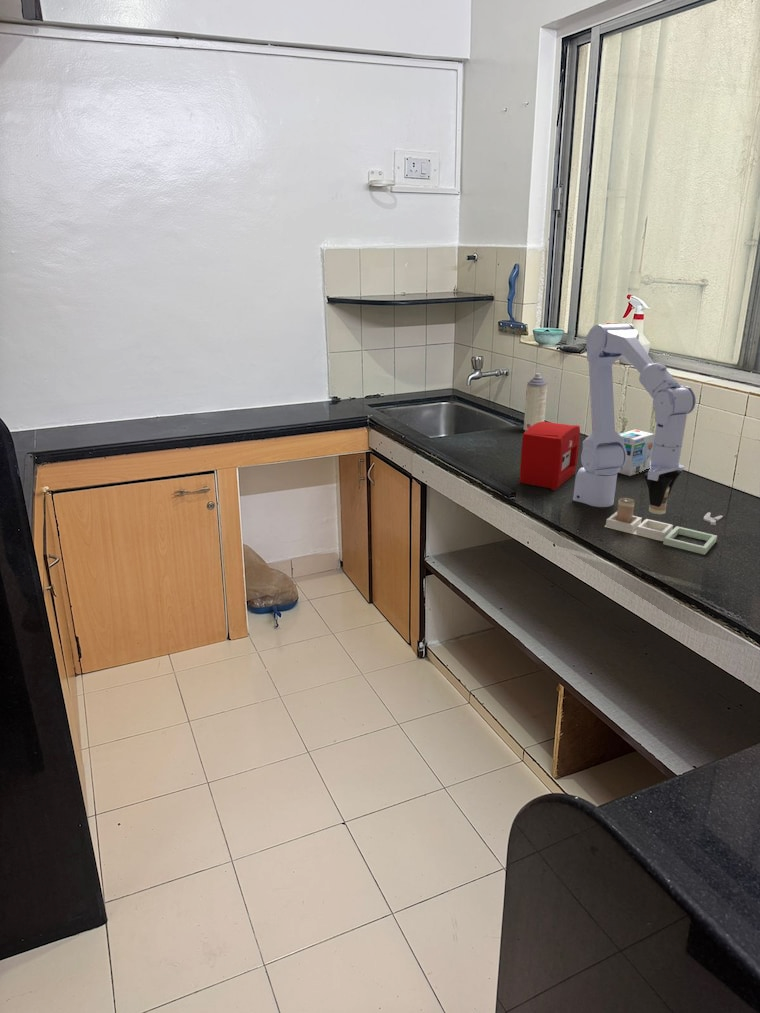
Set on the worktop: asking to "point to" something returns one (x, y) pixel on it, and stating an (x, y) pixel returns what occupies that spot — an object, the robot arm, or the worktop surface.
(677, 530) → the tray
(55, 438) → the worktop surface
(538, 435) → the fire alarm
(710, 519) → the pliers
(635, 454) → the light bulb box
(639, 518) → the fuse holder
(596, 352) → the robot arm
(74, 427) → the worktop surface
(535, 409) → the aerosol can
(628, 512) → the fuse
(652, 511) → the cylinder
